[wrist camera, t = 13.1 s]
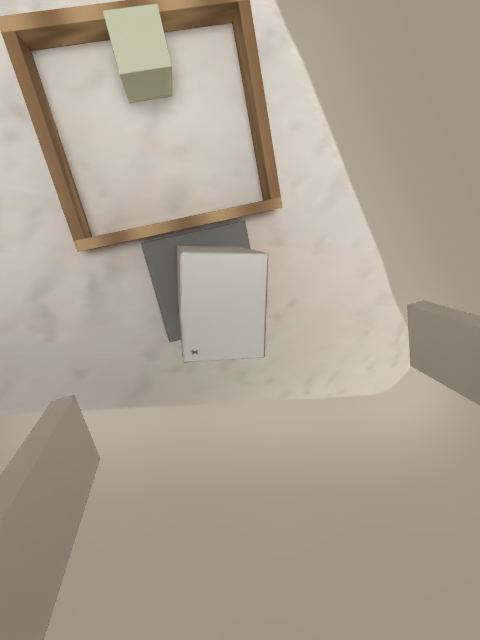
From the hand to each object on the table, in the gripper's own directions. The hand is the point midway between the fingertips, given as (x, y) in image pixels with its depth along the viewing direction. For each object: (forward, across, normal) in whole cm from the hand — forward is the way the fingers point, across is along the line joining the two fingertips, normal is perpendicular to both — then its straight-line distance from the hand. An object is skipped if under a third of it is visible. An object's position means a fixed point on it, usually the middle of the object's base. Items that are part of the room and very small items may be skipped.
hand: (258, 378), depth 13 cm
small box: (+25, +1, 0) cm, 25 cm away
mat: (+25, 0, 0) cm, 25 cm away
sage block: (+25, -1, +20) cm, 32 cm away
